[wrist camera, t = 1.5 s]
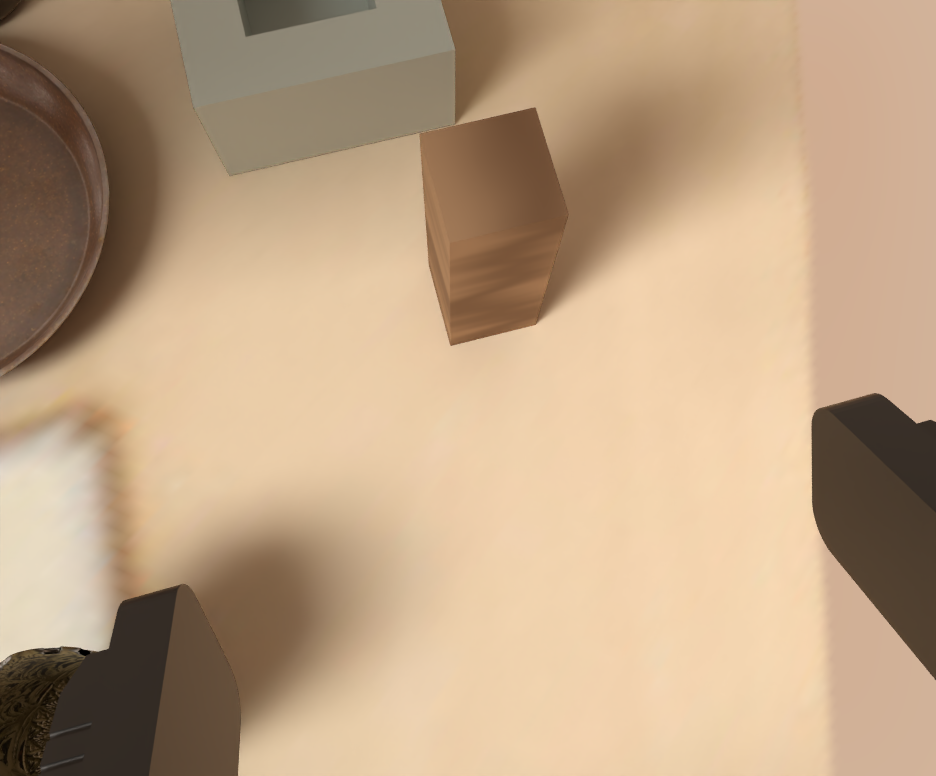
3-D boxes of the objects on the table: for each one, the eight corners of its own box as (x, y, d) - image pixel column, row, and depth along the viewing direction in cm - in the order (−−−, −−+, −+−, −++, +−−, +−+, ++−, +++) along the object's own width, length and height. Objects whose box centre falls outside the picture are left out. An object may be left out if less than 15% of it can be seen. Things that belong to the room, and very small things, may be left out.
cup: (121, 600, 38) (35, 600, 30) (257, 709, 37) (205, 738, 29) (-2, 753, 36) (-126, 795, 29) (136, 870, 35) (48, 946, 28)
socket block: (229, 175, 42) (193, 108, 37) (185, -21, 45) (145, -114, 39) (455, 123, 43) (455, 49, 37) (400, -67, 46) (392, -165, 40)
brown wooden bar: (450, 345, 41) (449, 243, 29) (428, 265, 42) (419, 133, 30) (535, 324, 41) (568, 214, 29) (512, 245, 42) (535, 107, 30)
